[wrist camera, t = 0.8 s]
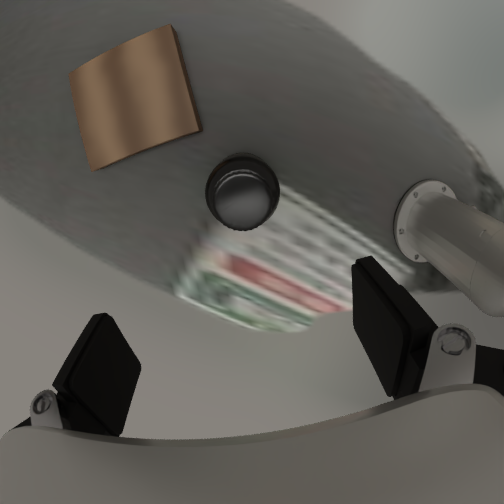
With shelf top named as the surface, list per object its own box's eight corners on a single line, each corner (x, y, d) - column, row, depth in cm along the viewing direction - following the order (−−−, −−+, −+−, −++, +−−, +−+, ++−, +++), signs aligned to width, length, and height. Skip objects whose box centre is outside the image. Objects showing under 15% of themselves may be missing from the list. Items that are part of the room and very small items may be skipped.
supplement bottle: (272, 206, 33) (286, 243, 22) (216, 209, 33) (202, 247, 22) (270, 150, 31) (284, 158, 20) (212, 153, 31) (193, 163, 20)
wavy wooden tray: (176, 32, 24) (170, 23, 21) (202, 130, 29) (198, 130, 27) (80, 76, 25) (68, 73, 22) (102, 168, 30) (91, 172, 28)
